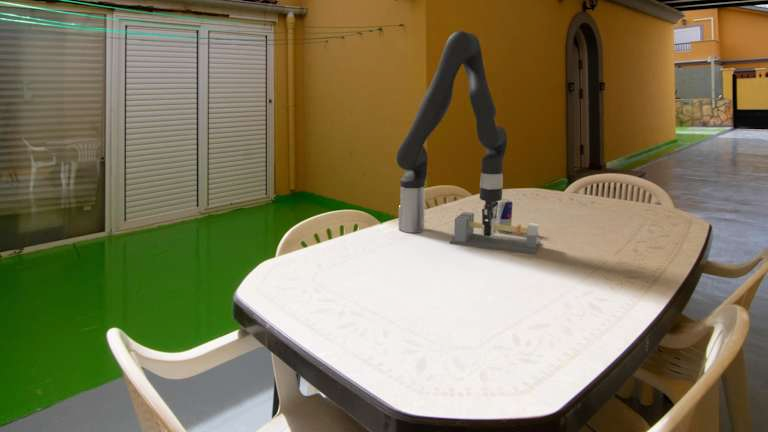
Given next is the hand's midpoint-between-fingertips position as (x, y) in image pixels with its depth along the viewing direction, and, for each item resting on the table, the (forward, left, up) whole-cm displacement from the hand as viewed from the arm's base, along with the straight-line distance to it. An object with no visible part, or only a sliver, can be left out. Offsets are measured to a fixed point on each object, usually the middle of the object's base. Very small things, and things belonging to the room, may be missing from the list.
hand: (489, 233), depth 160 cm
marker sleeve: (0, 0, 0) cm, 0 cm away
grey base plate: (+2, 0, -3) cm, 4 cm away
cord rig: (+2, 0, -2) cm, 3 cm away
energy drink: (+2, +16, -4) cm, 17 cm away
